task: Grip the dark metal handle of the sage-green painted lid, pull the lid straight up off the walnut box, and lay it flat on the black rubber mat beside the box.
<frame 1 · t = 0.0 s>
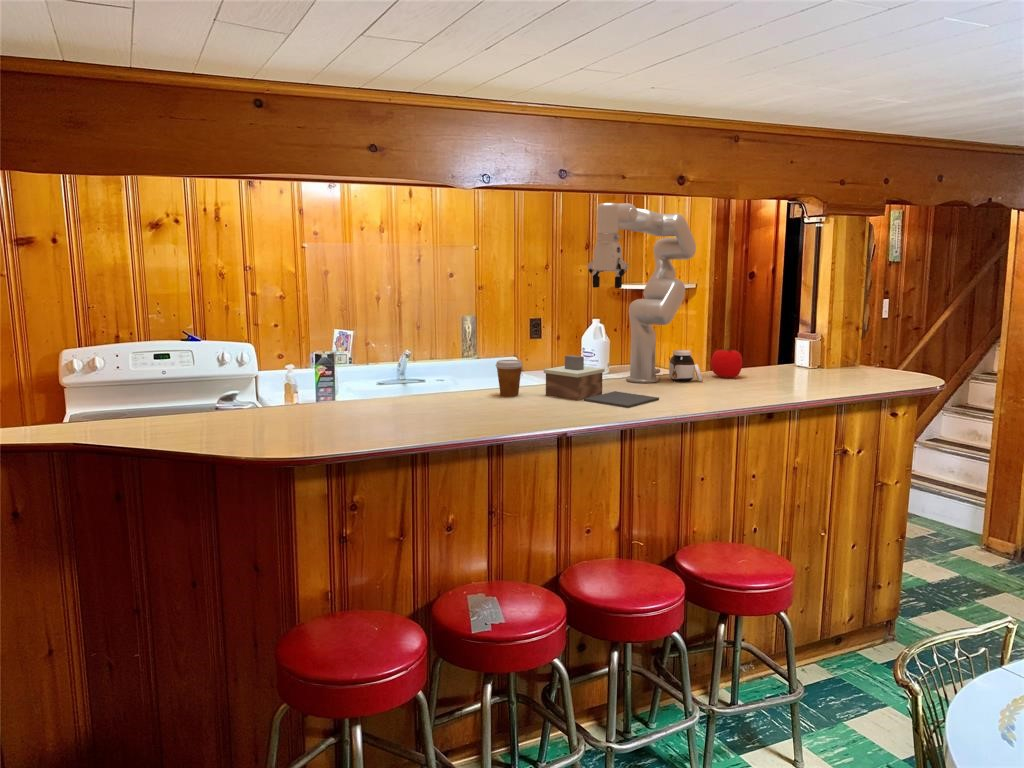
hand: (607, 287, 263), 37 cm above the worktop, tool pointing down, fingers open, 9 cm apart
box: (573, 395, 257), on the worktop
red apple: (725, 377, 293), on the worktop
mat: (621, 400, 247), on the worktop
lid: (574, 375, 256), point 7 cm above the worktop, touching box
disposable coffee cup: (509, 395, 258), on the worktop
spread jar: (686, 381, 285), on the worktop
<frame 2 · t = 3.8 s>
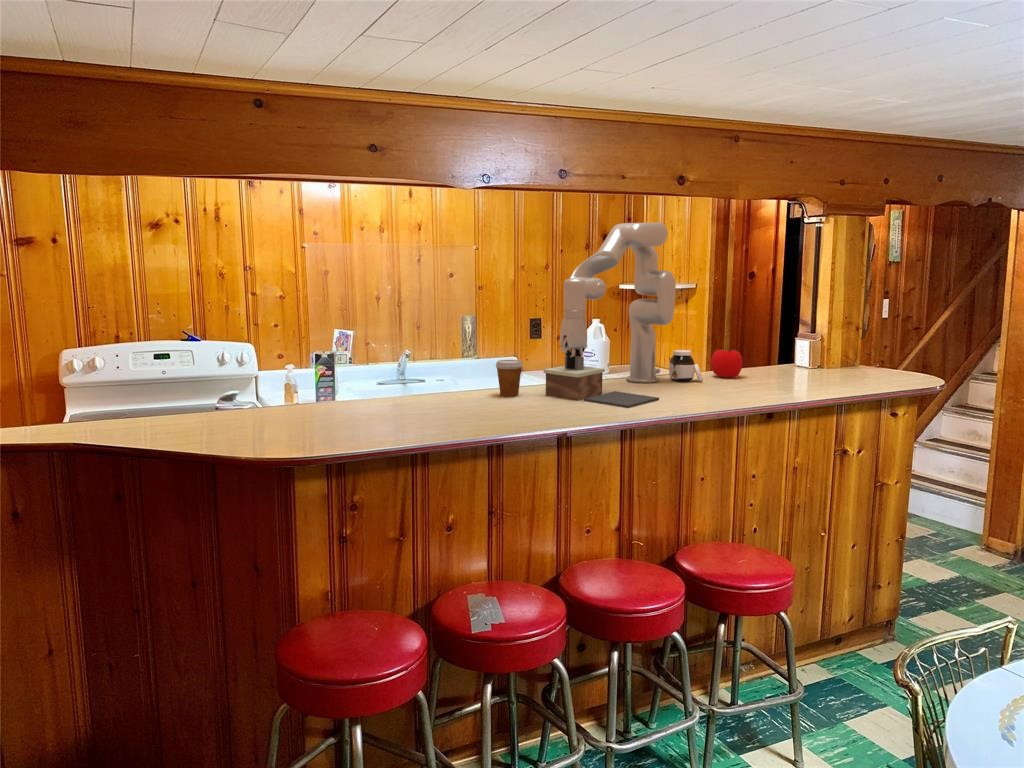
hand: (574, 367, 256), 10 cm above the worktop, tool pointing down, fingers closed on lid, 3 cm apart
lid: (574, 375, 256), point 7 cm above the worktop, touching box, gripper
everything else where it was.
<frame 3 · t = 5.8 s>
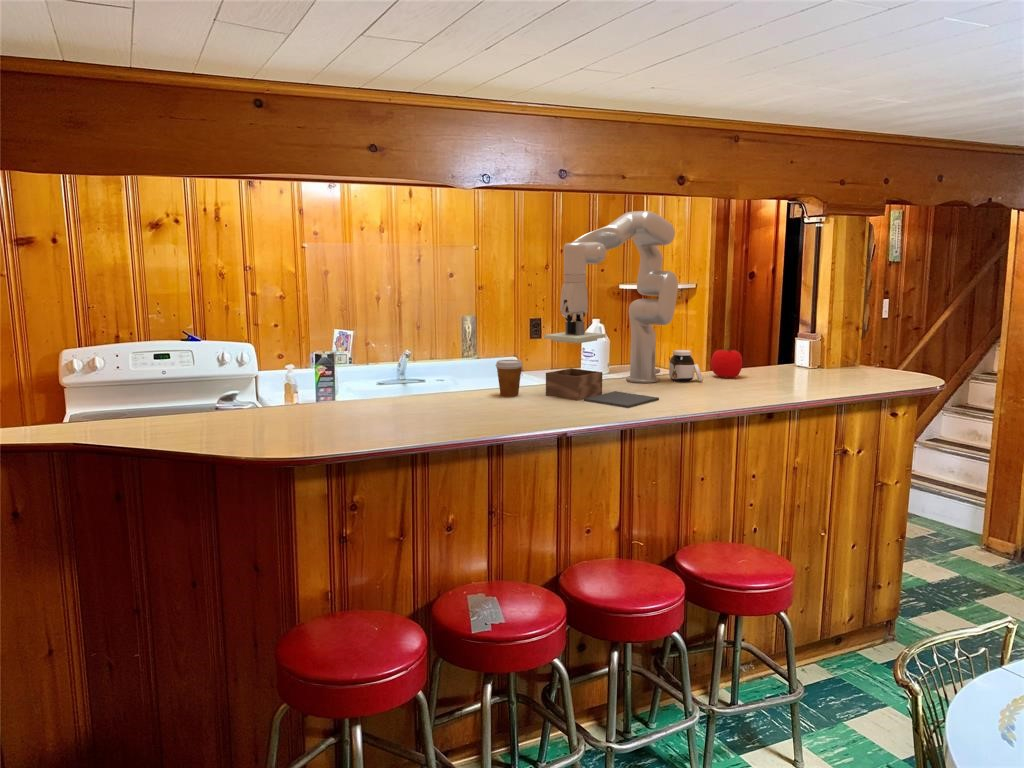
hand: (574, 332, 254), 22 cm above the worktop, tool pointing down, fingers closed on lid, 3 cm apart
lid: (574, 340, 254), point 19 cm above the worktop, touching gripper
everything else where it was.
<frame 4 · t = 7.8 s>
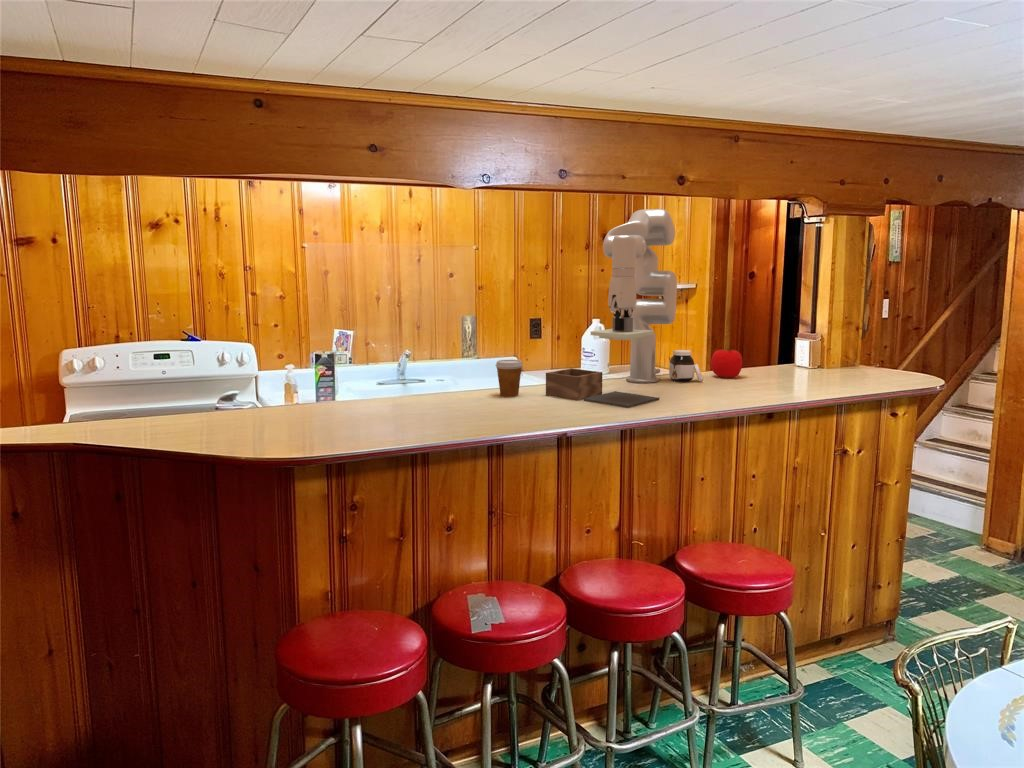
hand: (622, 329, 243), 24 cm above the worktop, tool pointing down, fingers closed on lid, 3 cm apart
lid: (622, 337, 244), point 21 cm above the worktop, touching gripper
everything else where it was.
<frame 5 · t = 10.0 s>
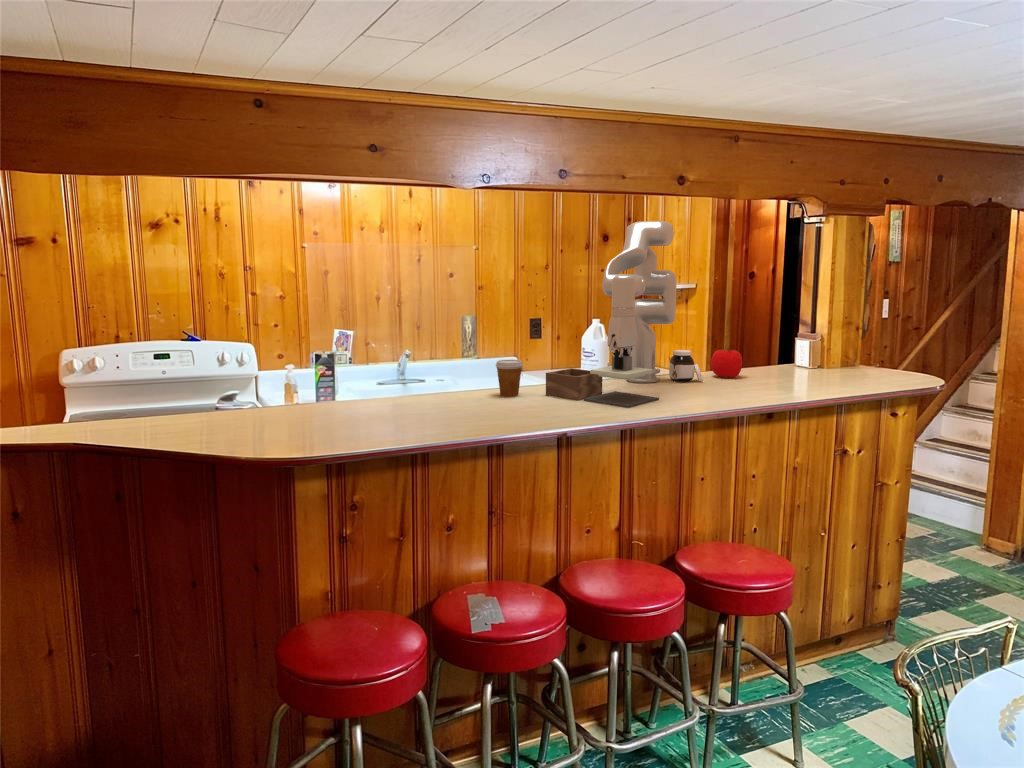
hand: (621, 367, 245), 11 cm above the worktop, tool pointing down, fingers closed on lid, 3 cm apart
lid: (621, 376, 246), point 8 cm above the worktop, touching gripper
everything else where it was.
when the fingers open (5 cm above the worktop, at t = 11.9 s): lid drops 2 cm, resting on mat.
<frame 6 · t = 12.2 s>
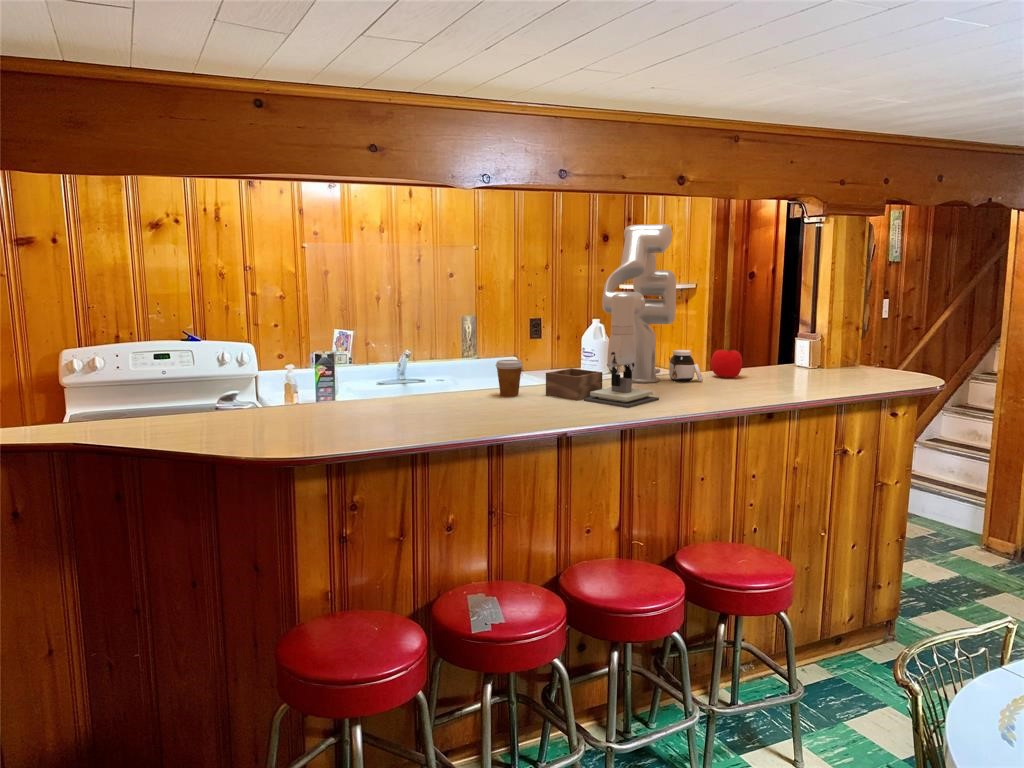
hand: (621, 384, 246), 6 cm above the worktop, tool pointing down, fingers open, 6 cm apart
lid: (621, 397, 247), point 1 cm above the worktop, touching mat
everything else where it was.
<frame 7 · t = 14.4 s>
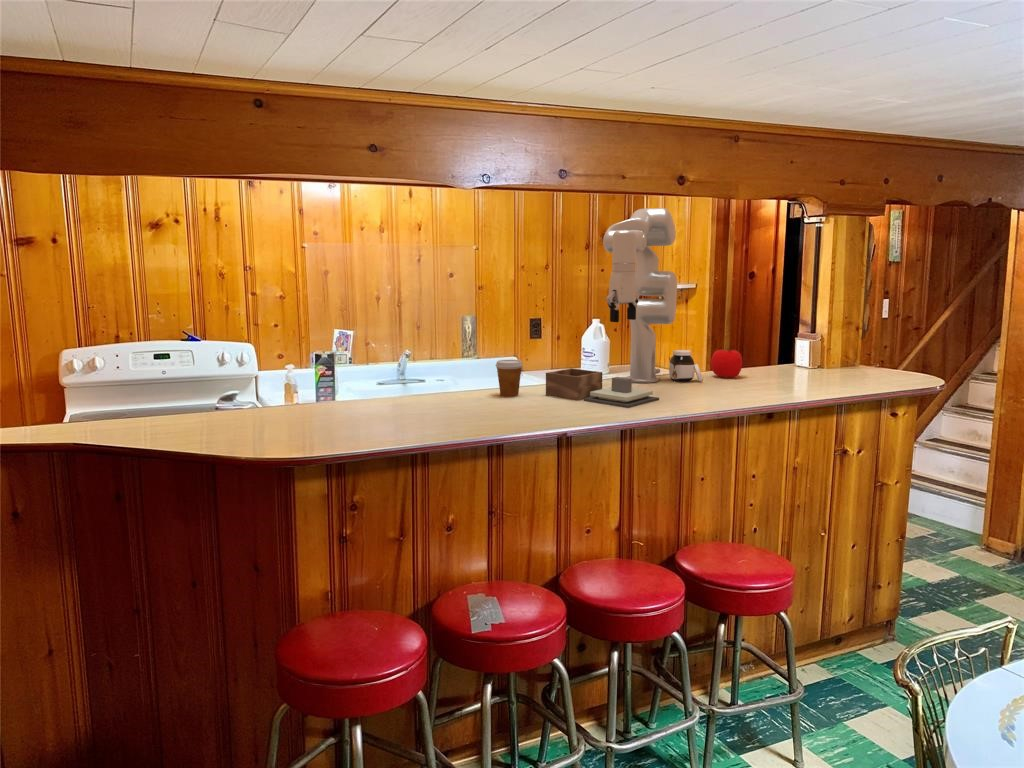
hand: (623, 320, 245), 27 cm above the worktop, tool pointing down, fingers open, 9 cm apart
nothing on the worktop moved.
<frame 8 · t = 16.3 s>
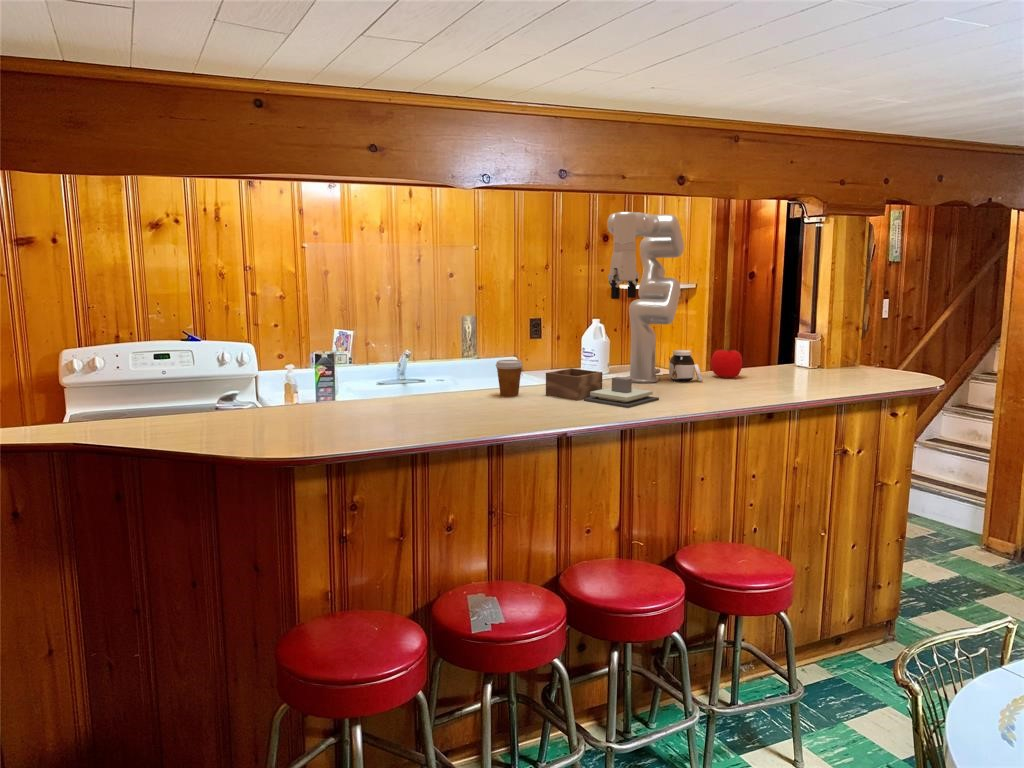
hand: (623, 298, 257), 33 cm above the worktop, tool pointing down, fingers open, 9 cm apart
nothing on the worktop moved.
at the end: lid inside the target area on the mat (0.1 cm from its centre), point 0.8 cm above the mat's base; lid tilted 0°; the gripper is holding nothing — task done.
